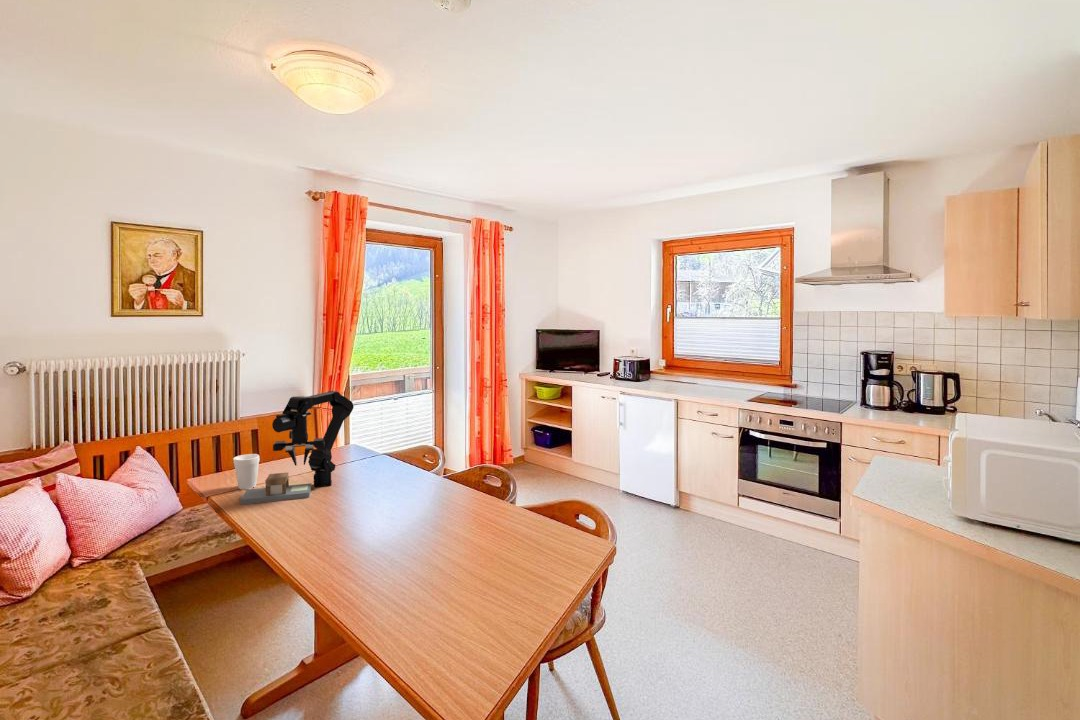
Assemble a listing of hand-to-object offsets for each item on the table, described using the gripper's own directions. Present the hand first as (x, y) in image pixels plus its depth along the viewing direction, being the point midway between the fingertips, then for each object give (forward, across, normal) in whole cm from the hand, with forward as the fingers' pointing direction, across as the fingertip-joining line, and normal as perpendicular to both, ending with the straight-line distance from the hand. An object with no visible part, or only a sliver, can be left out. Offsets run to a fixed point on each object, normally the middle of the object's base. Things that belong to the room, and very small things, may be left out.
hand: (300, 464), depth 199 cm
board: (+12, +8, 0) cm, 15 cm away
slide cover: (+10, +8, 0) cm, 13 cm away
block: (+12, +8, 0) cm, 15 cm away
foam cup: (+12, +22, -16) cm, 30 cm away
